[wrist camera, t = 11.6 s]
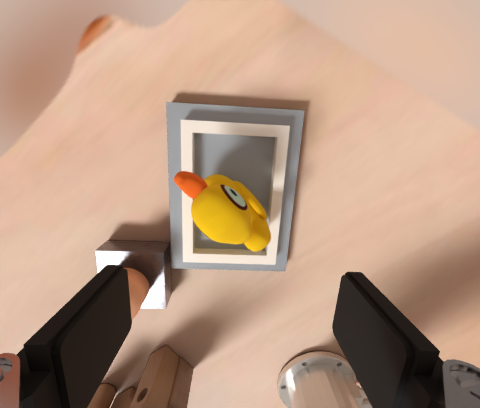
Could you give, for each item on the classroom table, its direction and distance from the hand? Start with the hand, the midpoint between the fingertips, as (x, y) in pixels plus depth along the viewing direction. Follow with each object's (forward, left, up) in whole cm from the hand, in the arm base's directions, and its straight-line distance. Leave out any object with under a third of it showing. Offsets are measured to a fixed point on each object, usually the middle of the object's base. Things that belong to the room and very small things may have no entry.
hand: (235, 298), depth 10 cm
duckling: (0, 0, -18) cm, 18 cm away
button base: (+12, +11, -20) cm, 25 cm away
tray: (0, 0, -20) cm, 20 cm away
